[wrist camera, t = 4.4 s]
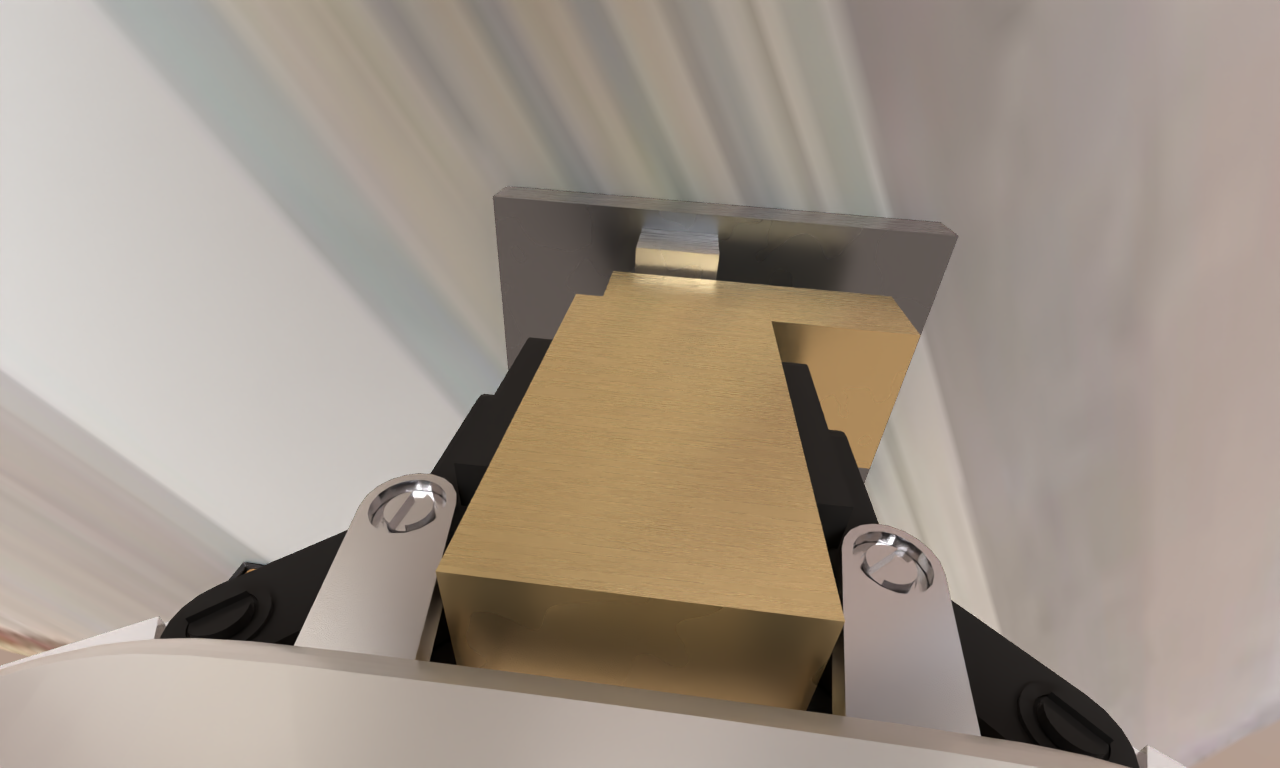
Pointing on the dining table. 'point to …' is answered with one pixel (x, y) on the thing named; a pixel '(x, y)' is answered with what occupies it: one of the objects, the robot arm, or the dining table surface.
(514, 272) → the hole plate
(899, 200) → the dining table surface
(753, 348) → the block
